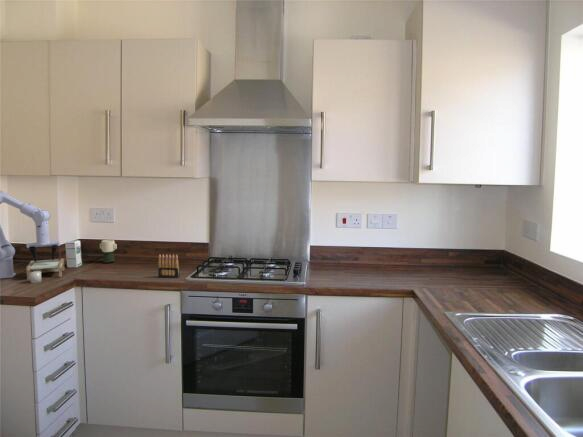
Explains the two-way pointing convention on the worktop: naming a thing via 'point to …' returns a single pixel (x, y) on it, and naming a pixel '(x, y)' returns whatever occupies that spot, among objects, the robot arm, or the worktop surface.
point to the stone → (35, 277)
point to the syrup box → (73, 253)
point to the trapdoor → (45, 264)
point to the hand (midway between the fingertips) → (44, 260)
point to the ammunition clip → (168, 267)
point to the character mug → (108, 250)
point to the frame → (59, 268)
